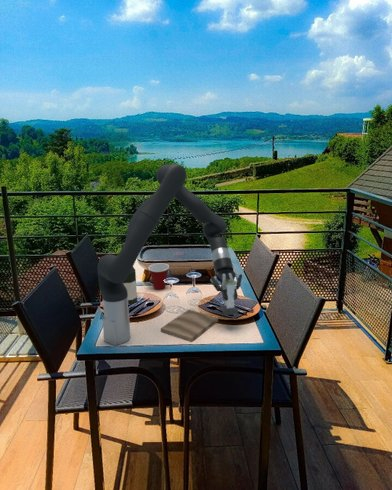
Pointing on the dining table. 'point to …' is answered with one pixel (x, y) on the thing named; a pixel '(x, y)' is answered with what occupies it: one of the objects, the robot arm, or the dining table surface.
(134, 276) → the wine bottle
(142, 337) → the dining table surface
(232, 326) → the dining table surface
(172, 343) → the dining table surface
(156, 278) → the plastic cup
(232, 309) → the square capped column
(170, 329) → the serving board
